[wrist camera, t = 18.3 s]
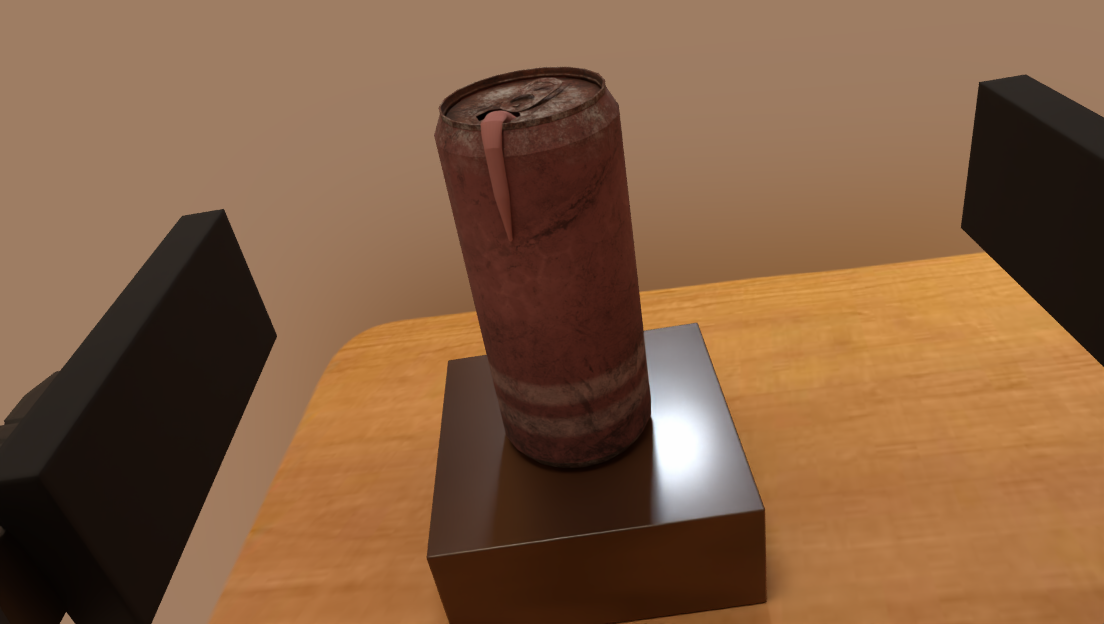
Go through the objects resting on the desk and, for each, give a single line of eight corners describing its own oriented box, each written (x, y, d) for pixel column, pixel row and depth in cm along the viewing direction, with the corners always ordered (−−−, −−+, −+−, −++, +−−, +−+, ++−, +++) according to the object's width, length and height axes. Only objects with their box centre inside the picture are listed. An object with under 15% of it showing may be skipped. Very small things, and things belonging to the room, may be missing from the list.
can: (493, 481, 31) (403, 137, 24) (518, 379, 37) (450, 71, 29) (650, 477, 30) (608, 116, 23) (653, 373, 35) (619, 51, 28)
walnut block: (703, 404, 41) (697, 321, 38) (766, 602, 31) (765, 510, 28) (469, 438, 41) (447, 360, 39) (456, 644, 31) (425, 557, 29)
